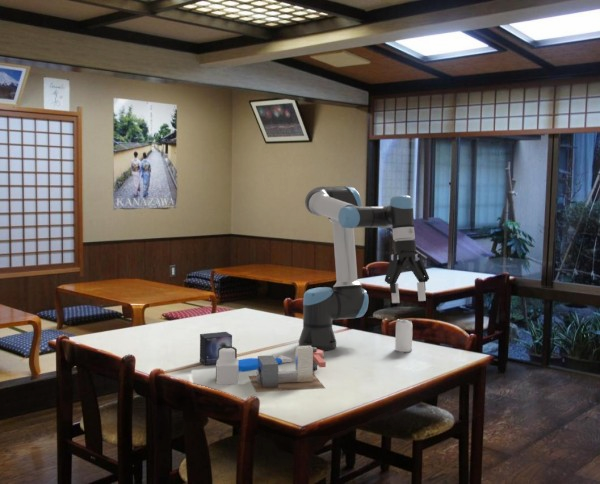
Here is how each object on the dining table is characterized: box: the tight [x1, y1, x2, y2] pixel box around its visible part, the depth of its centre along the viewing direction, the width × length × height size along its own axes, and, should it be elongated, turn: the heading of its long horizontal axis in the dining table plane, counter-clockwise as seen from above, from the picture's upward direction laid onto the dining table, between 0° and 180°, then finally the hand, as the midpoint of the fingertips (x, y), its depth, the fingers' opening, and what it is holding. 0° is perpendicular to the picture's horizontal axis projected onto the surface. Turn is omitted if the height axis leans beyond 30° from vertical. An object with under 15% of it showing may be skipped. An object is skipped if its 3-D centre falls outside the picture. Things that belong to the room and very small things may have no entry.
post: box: [313, 360, 318, 372], centre depth 238 cm, size 3×3×5 cm
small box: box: [199, 331, 233, 366], centre depth 250 cm, size 11×6×10 cm, turn 117°
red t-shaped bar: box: [312, 347, 327, 368], centre depth 233 cm, size 18×7×3 cm, turn 12°
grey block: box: [257, 355, 279, 388], centre depth 222 cm, size 11×5×8 cm, turn 12°
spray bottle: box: [237, 354, 293, 373], centre depth 246 cm, size 3×11×24 cm
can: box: [394, 318, 413, 353], centre depth 270 cm, size 6×6×12 cm
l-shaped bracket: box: [255, 345, 314, 384], centre depth 223 cm, size 4×18×11 cm, turn 102°
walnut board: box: [248, 372, 326, 393], centre depth 223 cm, size 18×22×1 cm
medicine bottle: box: [215, 346, 239, 385], centre depth 224 cm, size 7×7×12 cm
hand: (409, 302), depth 236 cm, fingers open, 13 cm apart
